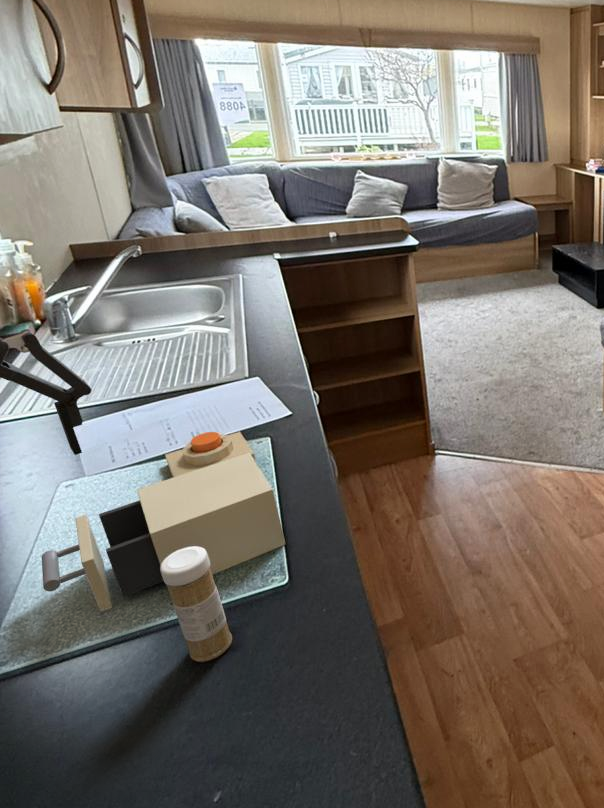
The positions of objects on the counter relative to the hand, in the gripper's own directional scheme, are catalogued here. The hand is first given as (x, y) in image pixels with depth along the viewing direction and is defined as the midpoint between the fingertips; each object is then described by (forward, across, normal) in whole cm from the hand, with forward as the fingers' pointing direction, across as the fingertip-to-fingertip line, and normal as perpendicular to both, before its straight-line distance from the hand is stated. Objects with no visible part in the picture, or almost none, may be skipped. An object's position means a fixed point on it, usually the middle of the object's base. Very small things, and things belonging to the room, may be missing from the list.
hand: (7, 472), depth 78 cm
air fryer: (+19, +18, -5) cm, 27 cm away
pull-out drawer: (+18, +8, -4) cm, 20 cm away
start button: (+16, +25, +19) cm, 35 cm away
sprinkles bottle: (+19, +11, -24) cm, 33 cm away
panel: (+19, +25, +19) cm, 37 cm away
